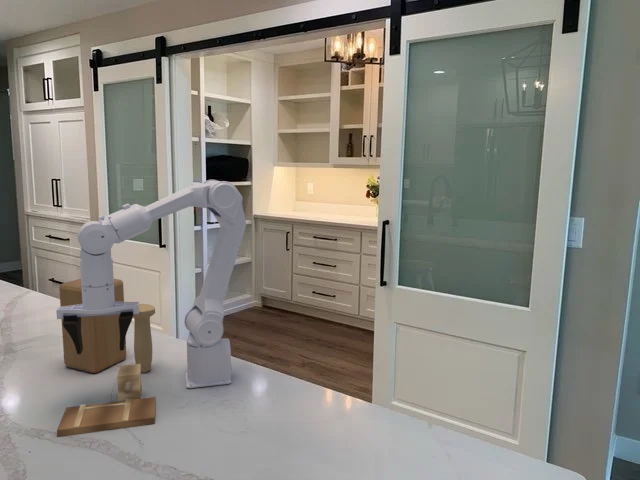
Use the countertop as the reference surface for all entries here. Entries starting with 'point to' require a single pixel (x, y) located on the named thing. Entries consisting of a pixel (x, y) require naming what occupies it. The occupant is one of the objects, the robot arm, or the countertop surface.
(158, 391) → the countertop surface
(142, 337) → the handle
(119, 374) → the pale wood holed block
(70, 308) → the robot arm
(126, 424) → the walnut board
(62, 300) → the wooden block
